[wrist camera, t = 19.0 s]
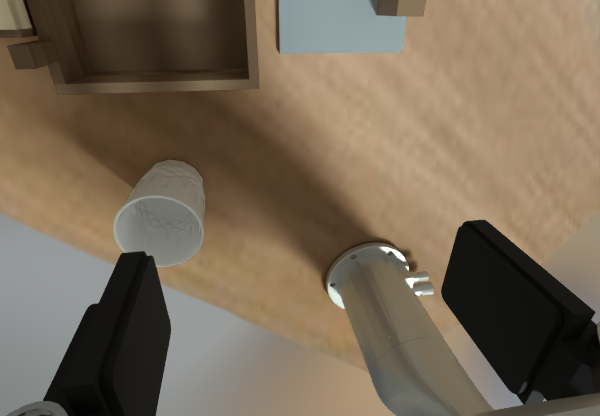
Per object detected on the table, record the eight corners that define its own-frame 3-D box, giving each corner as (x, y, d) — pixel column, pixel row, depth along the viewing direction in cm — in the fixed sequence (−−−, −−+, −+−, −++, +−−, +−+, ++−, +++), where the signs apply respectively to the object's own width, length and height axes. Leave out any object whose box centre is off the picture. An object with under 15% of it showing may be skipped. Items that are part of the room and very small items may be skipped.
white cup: (222, 196, 42) (220, 244, 34) (167, 225, 43) (151, 279, 34) (183, 141, 38) (169, 180, 30) (122, 175, 39) (92, 222, 30)
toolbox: (246, -72, 30) (253, -107, 21) (254, 75, 36) (262, 99, 27) (-20, -82, 27) (-153, -129, 18) (37, 80, 33) (-40, 109, 24)
